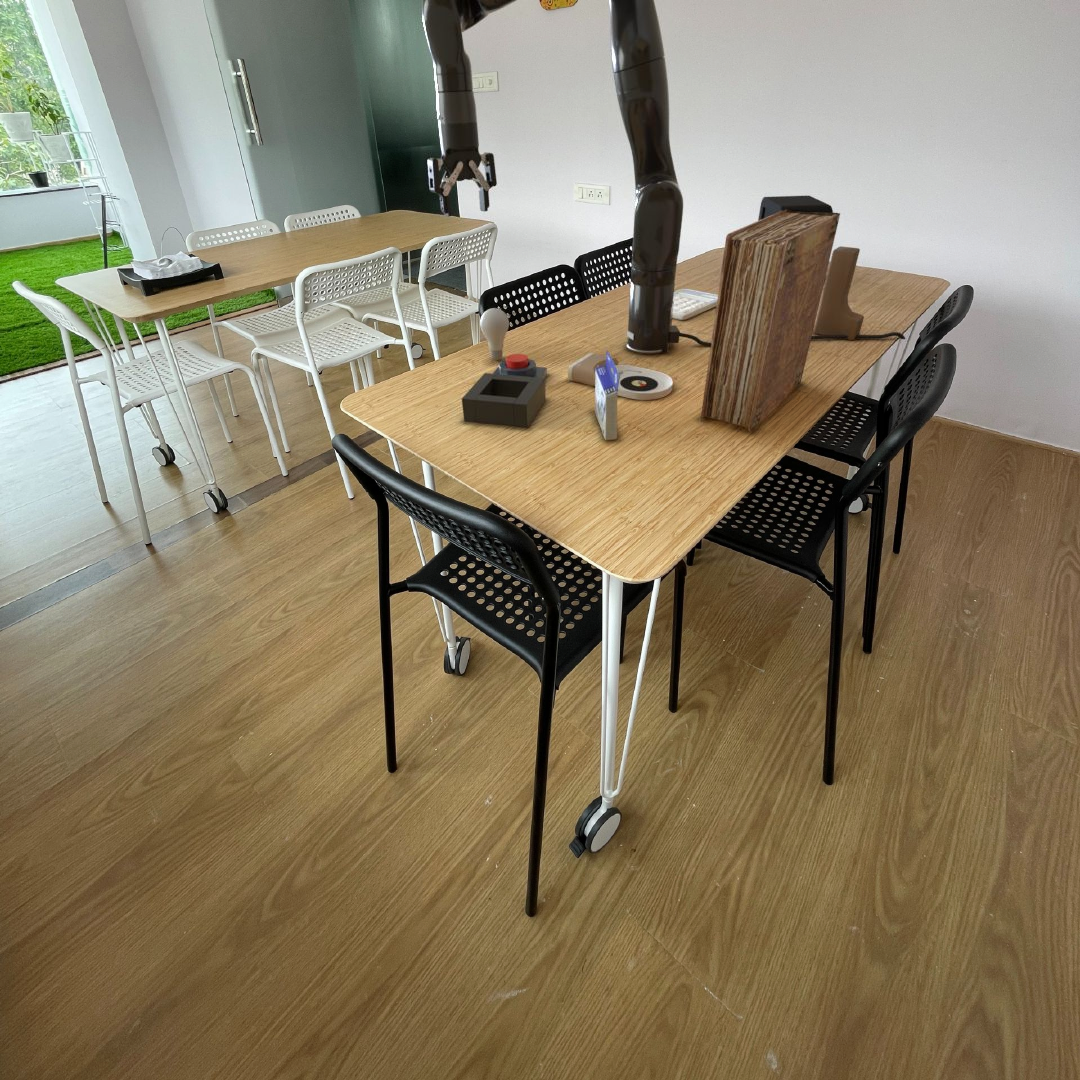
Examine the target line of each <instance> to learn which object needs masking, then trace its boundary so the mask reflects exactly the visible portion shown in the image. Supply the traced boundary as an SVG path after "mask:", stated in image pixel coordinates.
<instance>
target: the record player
mask: <svg viewBox="0 0 1080 1080" xmlns="http://www.w3.org/2000/svg"><path fill="white" fill-rule="evenodd" d="M611 358H612V360H613V362H614V365H615V367H616V369H617V371H618V373H619V375H620V379H619V386H618V392H617V396H619V397H622V398H627V399H631V400H632V399H633V400H638V401H650V400H652V401H653V400H657V399H661V398H664V397H666V396H668V395H670V394H671V392H672V391H673V383H674V382H673V379H672V378H671V376H670V375H668V374H666V373H664V372H662V371H658V370H653V369H650V368H649V369H648V368H644V367H640V366H635V365H631V364H619V360H618V359H617V358H616V357H612V356H611ZM604 365H606V355H602V354H598V353H594V352H589V353H588V354H586V355H584V356H582V357H581V358H580V359H578V360H576V361H575V362H573V363H571V364H570V365H569V366H568V370H567V379H568V380H569V381H571V382H574V383H575V382H576V383H580V384H583V385H587V386H591V387H595V372H596V368H598V367H601V366H604ZM611 371H612V373H613V375H614V372H613V368H611Z"/></svg>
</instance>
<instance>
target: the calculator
mask: <svg viewBox="0 0 1080 1080" xmlns="http://www.w3.org/2000/svg"><path fill="white" fill-rule="evenodd" d="M717 299H718V294H715V293H710V292H704V291H700V290H694V289H690V288H682V289H678V290H676V291H674V296H673V302H674V306H673V316H672V319H675V320H680V321H685V320H688V319H690V318H693V317H695V316H698V315H700V314H702V313H705V312H707V311H709V310H710V309H711V310H712V309H713V308H716V306H717Z"/></svg>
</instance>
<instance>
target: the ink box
mask: <svg viewBox="0 0 1080 1080" xmlns="http://www.w3.org/2000/svg"><path fill="white" fill-rule="evenodd" d="M605 353H606V354H605V356H606V365H604V366H601V367H598V368H596V372H595V386H594V414H595V416H596V420H597V422H598V425H599V427H600V429H601V433H602V436H603V438H604V440H605V441H613V440H614V441H615V440H617V439H618V395H617V392H618V386H619V379H620V375H619V373H618V371H617V369H616V367H615V365H614V362H613V360H612V358H613V357H612V356H611V354H610V352H609V351H608V350H605ZM611 357H612V358H611ZM611 368H613V372H614V375H613V373H612V371H611Z"/></svg>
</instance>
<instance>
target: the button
mask: <svg viewBox="0 0 1080 1080" xmlns="http://www.w3.org/2000/svg"><path fill="white" fill-rule="evenodd" d="M528 359H529V356H528V355H526V354H523V353H512V354H509V355H507V356H506V357H505V360H506V365H507V367H508V368H510V369H522V368H526V367H528Z"/></svg>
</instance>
